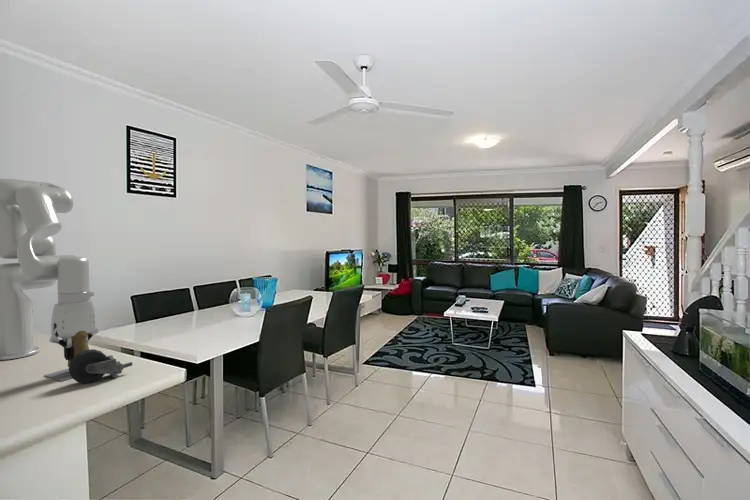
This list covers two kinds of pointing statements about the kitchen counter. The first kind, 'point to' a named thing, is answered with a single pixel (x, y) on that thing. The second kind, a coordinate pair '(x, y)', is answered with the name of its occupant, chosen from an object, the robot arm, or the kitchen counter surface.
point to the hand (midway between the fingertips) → (75, 358)
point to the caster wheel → (94, 366)
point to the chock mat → (60, 375)
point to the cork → (79, 343)
